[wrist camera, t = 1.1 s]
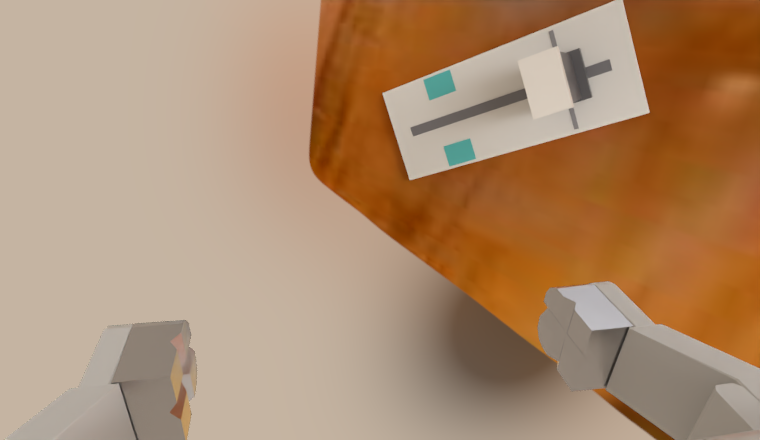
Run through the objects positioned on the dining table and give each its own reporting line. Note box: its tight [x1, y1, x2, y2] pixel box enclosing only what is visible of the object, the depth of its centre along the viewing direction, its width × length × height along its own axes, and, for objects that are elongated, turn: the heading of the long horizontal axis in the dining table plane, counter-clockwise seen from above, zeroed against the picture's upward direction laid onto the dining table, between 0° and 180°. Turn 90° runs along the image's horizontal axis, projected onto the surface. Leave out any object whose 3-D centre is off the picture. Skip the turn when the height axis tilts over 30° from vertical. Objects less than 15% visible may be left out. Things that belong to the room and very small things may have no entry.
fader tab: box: [517, 46, 593, 119], centre depth 40 cm, size 4×4×11 cm
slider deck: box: [382, 0, 650, 180], centre depth 48 cm, size 24×10×2 cm, turn 110°
